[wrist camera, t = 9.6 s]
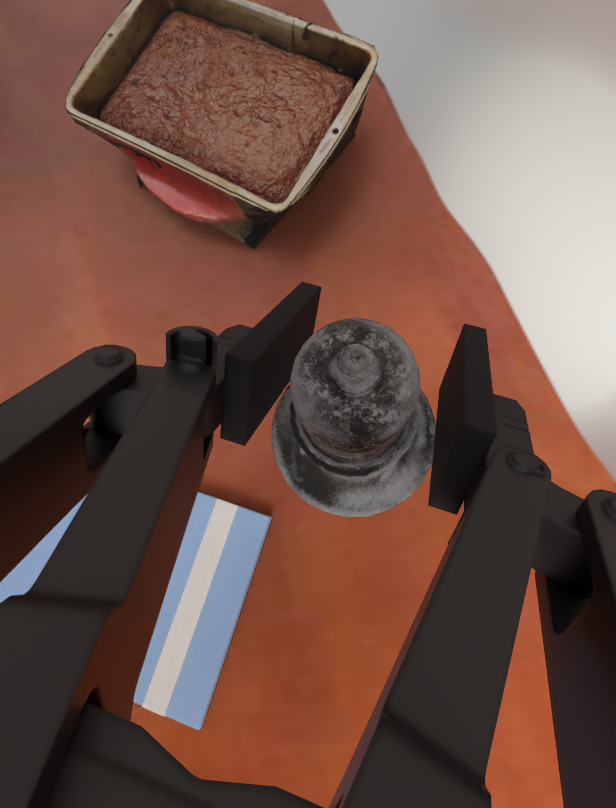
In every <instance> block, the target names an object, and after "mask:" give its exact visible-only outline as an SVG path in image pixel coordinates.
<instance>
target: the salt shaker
mask: <svg viewBox="0 0 616 808" xmlns="http://www.w3.org/2000/svg"><path fill="white" fill-rule="evenodd" d="M435 431H436V427H435V418H434V415H433V413H432V410H431V407H430V405H429V402H428V399H427V397H426V396H425V395H424V393H423V392H422V390H421V387H420V375H419V369H418V366H417V363H416V360H415V357H414V355H413V352H412V350H411V349H410V348H409V346H408V345H407V343H406V342H405V341H404V339H403V338H402V337H401V336H399V335H398V334H397V333H396V332H395V331H394V330H392V329H391V328H389V327H387V326H385V325H383V324H381V323H379V322H377V321H373V320H367V319H362V318H353V319H342V320H339V321H336V322H333V323H330V324H327V325H326V326H324V327H323V328H321V329H319V330H318V331H316V332H315V333H314V334H313V335H312V336H311V337H310V338H309V339H308V340H307V341H306V342H305V343H304V344H303V346H302V348H301V349H300V351H299V353H298V355H297V357H296V358H295V361H294V365H293V369H292V373H291V377H290V385H289V386H288V387H287V388H286V390H285V392H284V394H283V395H282V397H281V399H280V401H279V403H278V404H277V407H276V411H275V415H274V419H273V422H272V448H273V452H274V456H275V459H276V463H277V466H278V468H279V470H280V472H281V473H282V475H283V477H284V478H285V480H286V482H287V484H288V485H289V486H290V487H291V488H292V489H293V490H294V491H295V492H296V493H297V494H298V495H299V496H300V497H301V498H302V499H303V500H304V501H306V502H308V503H309V504H311V505H313V506H315V507H316V508H318V509H320V510H322V511H324V512H328V513H332V514H336V515H340V516H344V517H362V516H371V515H374V514H377V513H381V512H384V511H387V510H390V509H391V508H393V507H395V506H396V505H398V504H399V503H401V502H403V501H404V500H406V499H407V498H409V496H410V495H411V494H412V493H413V492H414V491H415V490H416V489H417V488H418V486H419V485H420V484H421V483H422V482H423V480H424V478H425V476H426V474H427V472H428V470H429V468H430V466H431V464H432V462H433V451H434V441H435Z"/></svg>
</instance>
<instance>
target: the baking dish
mask: <svg viewBox="0 0 616 808" xmlns="http://www.w3.org/2000/svg"><path fill="white" fill-rule="evenodd" d="M377 61H378V53H377V51H376V49H375V46H373V45H371V44H369V43H366V42H364V41H362V40H360V39H358V38H356V37H354V36H351V35H348V34H344V33H339V32H335V31H333V30H330V29H327V28H324V27H322V26H319V25H316V24H313V23H309V22H306V21H305V20H303V19H301V18H295V17H293V16H291V15H289V14H286V13H283V12H280V11H277V10H274V9H271V8H268V7H265V6H262V5H259V4H257V3H254V2H251V1H248V0H130V1H129V3H128V4H127V5H126V7H125V8H124V9H123V10H122V11H121V12H120V14H119V15H118V17H117V18H116V20H115V21H114V22H113V23H112V25H111V26H110V27H109V28H108V29H107V30H106V31H105V32H104V34H103V36H102V37H101V39H100V40H99V42H98V43H97V45H96V46H95V48H94V49H93V50H92V52H91V53H90V55H89V56H88V58H87V59H86V61H85V62H84V63H83V65H82V67H81V69H80V71H79V72H78V74H77V76H76V78H75V79H74V81H73V83H72V85H71V86H70V88H69V90H68V92H67V94H66V103H65V108H66V110H67V112H68V113H69V115H70V116H71V117H72V119H73V120H74V121H75V122H76V123H77V124H79V125H81V126H83V127H85V128H86V129H87V130H89V131H91V132H93V133H95V134H97V135H98V136H100V137H102V138H103V139H105V140H107V141H108V142H110V143H111V144H113V145H115V146H116V147H117V148H119V149H120V150H121V151H122V152H123V153H124V154H126V155H127V156H128V157H129V158H130V160H131V161H132V162H133V164H134V167H135V169H136V171H137V179H138V183H139V185H140V188H142V187H143V186H144V185H146V187H147V188H148V189H149V191H151V192H152V193H153V194H154V195H155V196H156V197H157V198H158V199H160V200H161V201H162V202H163V203H165V204H166V205H167V206H168V207H170V208H171V209H172V210H173V211H175V212H176V213H177V214H178V215H181V216H184V217H187V218H190V219H193V220H195V221H197V222H200V223H202V224H205V225H207V226H209V227H212V228H214V229H216V230H219V231H221V232H223V233H226V234H228V235H230V236H232V237H234V238H235V239H237V240H239V241H241V242H243V243H244V244H246V245H248V246H250V247H252V248H253V249H255V247H256V246H257V245H258V244H259V243H260V242H261V241H262V240H263V238H264V237H265V236H266V235H267V234H268V233H269V232H270V231H271V229H272V228H273V227H274V226H275V225H276V224H277V223H278V221H279V220H280V219H281V218H282V217H283V216H284V215H285V214H286V212H287V211H288V210H289V209H290V208H291V207H292V206H293V205H294V204H295V203H297V202H298V201H299V200H301V199H302V198H303V197H305V196H306V195H307V194H309V193H310V192H311V191H313V189H314V188H315V186H316V185H317V183H318V182H319V180H320V178H321V177H322V175H323V174H324V172H325V171H326V169H327V168H328V167H329V166H330V165H331V164H332V163H333V162H334V160H335V159H336V158H337V157H338V156H339V154H340V153H341V152H342V151H343V149H344V148H345V147H346V146H347V145H348V143H349V142H350V141H351V140H352V139H353V137H354V136H355V131H356V128H357V125H358V122H359V119H360V116H361V113H362V110H363V105H364V101H365V98H366V94H367V91H368V88H369V85H370V82H371V79H372V77H373V75H374V74H375V68H376V66H377Z"/></svg>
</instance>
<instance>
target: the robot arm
mask: <svg viewBox="0 0 616 808" xmlns="http://www.w3.org/2000/svg"><path fill="white" fill-rule="evenodd" d="M320 292H321V287H320V286H316V285H312V284H309V283H305V282H301V283H300V284H299V285H298V286H297V287H296V288H295V289H294V290H293V291H292V292H291V293H290V294H289V295H288V296H287V297H286V298H284V299H283V300H282V301H281V302H280V303H279V304H278V305H277V306H276V307H275V308H274V309H273V310H272V311H271V312H270V313H269V314H267V315H266V316H265V317H264V318H263V319H262V320H261V321H260V322H259V323H258V324H257V325H256V326H255V327H254V328H250V327H247V326H243V325H240V324H239V325H236V326H233V327H230V328H227V329H226V330H225V331H223V332H222V333H221V334H220V335H219V336H217V335H216V334H215V333H214V332H212V331H210V330H208V329H206V328H201V327H196V326H183V327H177V328H174V329H171V330H169V331H168V332H167V333H166V359H167V362H166V363H165V365H164V367H152V366H143V365H136V354H135V353H134V352H133V351H132V350H131V349H128V348H126V347H122V346H117V345H103V346H99V347H94V348H92V349H89V350H87V351H85V352H84V353H82V354H80V355H79V356H77V357H76V358H74V359H72V360H71V361H69V362H68V363H66V364H64V365H63V366H61V367H59V368H58V369H56V370H55V371H53V372H51V373H50V374H48V375H47V376H45V377H43V378H42V379H40V380H38V381H37V382H35V383H34V384H32V385H30V386H29V387H27V388H26V389H24V390H22V391H21V392H19V393H17V394H16V395H14V396H13V397H11V398H9V399H8V400H6V401H5V402H3V403H1V404H0V582H1V581H2V580H3V579H4V578H5V577H6V576H7V575H8V574H9V573H10V572H11V571H12V570H13V569H14V568H15V567H16V566H17V565H18V564H19V563H20V562H21V561H22V560H23V559H24V558H25V557H26V556H27V555H28V554H29V553H30V552H31V551H32V550H33V549H34V548H35V547H36V546H37V545H38V543H39V542H40V541H41V540H42V539H43V538H44V537H45V536H46V535H47V534H48V533H49V532H50V531H51V530H52V529H53V528H54V527H55V526H56V525H57V524H58V523H59V522H60V521H61V520H62V519H63V518H64V517H65V516H66V515H67V514H68V513H69V512H70V511H71V510H72V509H73V508H74V507H75V506H76V505H77V504H78V503H79V502H80V501H81V500H82V499H83V498H84V497H85V496H86V495H87V496H86V497H85V499H84V501H83V502H82V504H81V506H80V507H79V509H78V511H77V512H76V514H75V516H74V517H73V519H72V521H71V522H70V524H69V526H68V527H67V529H66V531H65V532H64V534H63V536H62V538H61V539H60V541H59V543H58V544H57V546H56V548H55V549H54V551H53V553H52V554H51V556H50V558H49V559H48V561H47V563H46V564H45V566H44V568H43V569H42V571H41V573H40V574H39V576H38V578H37V579H36V581H35V583H34V584H33V585H32V587H31V588H30V590H29V591H27V592H26V593H25V594H24V595H11V596H9V597H8V598H7V599H5V600H4V601H2V602H1V603H0V808H323V807H321V806H318V805H316V804H314V803H312V802H310V801H307V800H305V799H303V798H301V797H298V796H296V795H294V794H292V793H289V792H287V791H285V790H283V789H280V788H278V787H275V786H264V785H254V784H243V783H232V782H221V781H211V780H203V779H199V778H197V777H195V776H194V775H193V774H191V773H190V772H189V771H188V770H187V769H186V768H185V767H184V766H183V765H182V764H181V763H180V762H179V761H177V760H176V759H175V758H174V757H173V756H172V755H171V754H170V753H169V752H168V751H167V750H166V749H165V748H164V747H163V746H162V745H161V744H159V743H158V742H157V741H156V740H155V739H154V738H153V737H152V736H151V735H150V734H149V733H148V732H147V731H146V730H145V729H144V728H143V727H141V726H139V725H137V724H135V723H133V722H131V721H130V720H131V714H132V707H133V700H134V695H135V690H136V686H137V683H138V679H139V676H140V673H141V670H142V667H143V664H144V660H145V657H146V654H147V651H148V648H149V645H150V642H151V638H152V635H153V632H154V629H155V626H156V623H157V619H158V616H159V613H160V610H161V607H162V604H163V601H164V597H165V594H166V591H167V588H168V585H169V582H170V578H171V575H172V572H173V569H174V566H175V563H176V560H177V556H178V553H179V550H180V547H181V544H182V541H183V537H184V534H185V531H186V528H187V525H188V522H189V519H190V515H191V512H192V509H193V506H194V503H195V500H196V496H197V493H198V490H199V487H200V484H201V481H202V477H203V474H204V471H205V468H206V465H207V462H208V459H209V455H210V452H211V449H212V446H213V432H214V431H215V430H216V428H217V427H218V426H219V425H220V423H221V435H220V438H222V439H225V440H228V441H231V442H234V443H238V444H241V445H244V446H245V445H246V443H247V442H248V440H249V439H250V438H251V436H252V435H253V433H254V432H255V430H256V429H257V427H258V426H259V425H260V423H261V422H262V420H263V419H264V417H265V416H266V414H267V413H268V412H269V410H270V409H271V407H272V406H273V404H274V403H275V401H276V400H277V399H278V397H279V396H280V394H281V393H282V391H283V390H284V388H285V387H286V386H287V384H288V383H289V381H290V377H291V373H292V369H293V365H294V361H295V358H296V357H297V355H298V353H299V351H300V349H301V348H302V346H303V344H304V343H305V342H306V341H307V340H308V339H309V338H310V337H311V336H312V335H313V331H314V326H315V320H316V315H317V309H318V303H319V298H320ZM88 417H90V421H89V422H88V423H87V424H86V425H84V426H83V424H84V422H85V420H86V419H87V418H88ZM528 430H529V429H528V424H527V419H526V414H525V411H524V410H523V408H522V407H521V406H520V405H519V404H518V402H517V401H516V400H513V399H510V398H506V397H502V396H499V395H495V394H493V390H492V380H491V371H490V362H489V352H488V343H487V334H486V329H484V328H480V327H476V326H472V325H468V324H464V326H463V328H462V331H461V333H460V336H459V339H458V341H457V344H456V347H455V349H454V352H453V354H452V357H451V360H450V362H449V365H448V368H447V370H446V373H445V375H444V378H443V381H442V383H441V386H440V389H439V400H438V410H437V420H436V431H435V441H434V451H433V462H432V472H431V482H430V493H429V503H428V505H429V506H432V507H435V508H438V509H441V510H444V511H447V512H450V513H454V514H457V513H458V511H459V509H460V507H461V505H462V503H463V501H464V513H463V515H462V517H461V519H460V521H459V522H458V524H457V526H456V528H455V530H454V532H453V534H452V536H451V538H450V540H449V542H448V547H447V549H446V551H445V553H444V555H443V558H442V560H441V562H440V564H439V566H438V569H437V571H436V573H435V575H434V578H433V580H432V582H431V584H430V586H429V589H428V591H427V593H426V595H425V597H424V600H423V602H422V604H421V606H420V608H419V611H418V613H417V615H416V617H415V620H414V622H413V624H412V626H411V628H410V631H409V633H408V635H407V637H406V639H405V642H404V644H403V646H402V648H401V651H400V653H399V655H398V657H397V659H396V662H395V664H394V666H393V668H392V670H391V673H390V675H389V677H388V679H387V681H386V684H385V686H384V688H383V690H382V693H381V695H380V697H379V699H378V701H377V704H376V706H375V708H374V710H373V712H372V715H371V717H370V719H369V721H368V724H367V726H366V728H365V730H364V732H363V735H362V737H361V739H360V741H359V743H358V746H357V748H356V750H355V752H354V754H353V757H352V759H351V761H350V763H349V766H348V768H347V770H346V772H345V774H344V777H343V779H342V781H341V783H340V785H339V787H338V789H337V791H336V793H335V795H334V797H333V799H332V801H331V803H330V806H329V808H491V795H490V793H489V791H488V790H487V788H486V786H485V774H486V768H487V763H488V758H489V754H490V750H491V745H492V741H493V736H494V732H495V727H496V723H497V718H498V714H499V709H500V705H501V700H502V696H503V691H504V687H505V682H506V678H507V674H508V669H509V665H510V660H511V656H512V651H513V647H514V642H515V638H516V633H517V629H518V624H519V620H520V615H521V611H522V606H523V602H524V598H525V593H526V589H527V584H528V580H529V575H530V571H531V568H533V569H535V580H536V588H537V596H538V604H539V612H540V620H541V628H542V636H543V644H544V652H545V660H546V668H547V676H548V684H549V692H550V700H551V708H552V716H553V724H554V732H555V740H556V748H557V756H558V765H559V773H560V781H561V789H562V797H563V805H564V808H616V493H614V492H611V491H606V490H593V491H592V492H590V493H589V494H588V495H587V497H586V498H585V499H582V498H580V497H578V496H576V495H574V494H572V493H570V492H568V491H566V490H564V489H562V488H561V487H559V486H557V485H555V484H554V483H553V482H551V470H550V469H549V468H548V466H547V465H546V463H545V462H544V461H542V460H541V459H540V458H539V457H538V456H536V455H534V452H533V447H532V443H531V438H530V433H529V432H528Z"/></svg>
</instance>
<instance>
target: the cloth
mask: <svg viewBox="0 0 616 808" xmlns="http://www.w3.org/2000/svg"><path fill="white" fill-rule="evenodd" d="M86 496H87V495H86ZM86 496H85V497H86ZM85 497H84V498H83V499H82V500H81V501H80V502H79V503H78V504H77V505H76V506H75V507H74V508H73V509H72V510H71V511H70V512H69V513H68V514H67V515H66V516H65V517H64V518H63V519H62V520H61V521H60V522H59V523H58V524H57V525H56V526H55V527H54V528H53V529H52V530H51V531H50V532H49V533H48V534H47V535H46V536H45V537H44V538H43V539H42V540H41V541H40V542H39V543H38V545H37V546H36V547H35V548H34V549H33V550H32V551H31V552H30V553H29V554H28V555H27V556H26V557H25V558H24V559H23V560H22V561H21V562H20V563H19V564H18V565H17V566H16V567H15V568H14V569H13V570H12V571H11V572H10V573H9V574H8V575H7V576H6V577H5V578H4V579H3V580H2V581H1V582H0V603H1V602H2V601H4V600H5V599H7V598H8V597H9V596H11V595H24V594H25V593H26V592H27V591H29V590H30V588H31V587H32V585H33V584H34V583H35V581H36V579H37V578H38V576H39V574H40V573H41V571H42V569H43V568H44V566H45V564H46V563H47V561H48V559H49V558H50V556H51V554H52V553H53V551H54V549H55V548H56V546H57V544H58V543H59V541H60V539H61V538H62V536H63V534H64V532H65V531H66V529H67V527H68V526H69V524H70V522H71V521H72V519H73V517H74V516H75V514H76V512H77V511H78V509H79V507H80V506H81V504H82V502H83V501H84V499H85ZM271 519H272V517H271V516H268V515H265V514H262V513H259V512H256V511H253V510H251V509H248V508H245V507H242V506H239V505H236V504H233V503H230V502H228V501H225V500H222V499H219V498H216V497H213V496H210V495H208V494H205V493H202V492H199V491H198V493H197V496H196V500H195V503H194V506H193V509H192V512H191V515H190V519H189V522H188V525H187V528H186V531H185V534H184V537H183V541H182V544H181V547H180V550H179V553H178V556H177V560H176V563H175V566H174V569H173V572H172V575H171V578H170V582H169V585H168V588H167V591H166V594H165V597H164V601H163V604H162V607H161V610H160V613H159V616H158V619H157V623H156V626H155V629H154V632H153V635H152V638H151V642H150V645H149V648H148V651H147V654H146V657H145V660H144V664H143V667H142V670H141V673H140V676H139V679H138V683H137V686H136V690H135V695H134V700H133V702H135V703H137V704H140V705H142V707H143V708H145V709H148V710H150V711H152V712H154V713H157V714H159V715H161V716H163V717H164V716H167V717H169V718H171V719H174V720H176V721H178V722H180V723H183V724H185V725H187V726H189V727H192V728H194V729H196V730H200V728H201V727H202V726H203V723H204V720H205V717H206V714H207V711H208V708H209V705H210V702H211V699H212V696H213V693H214V690H215V687H216V684H217V681H218V678H219V675H220V672H221V669H222V666H223V663H224V660H225V657H226V654H227V651H228V648H229V645H230V642H231V639H232V636H233V633H234V630H235V627H236V624H237V621H238V618H239V615H240V612H241V609H242V606H243V603H244V600H245V597H246V594H247V591H248V588H249V585H250V582H251V579H252V576H253V573H254V570H255V567H256V564H257V561H258V558H259V555H260V552H261V549H262V546H263V543H264V540H265V537H266V534H267V531H268V528H269V525H270V522H271Z"/></svg>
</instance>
